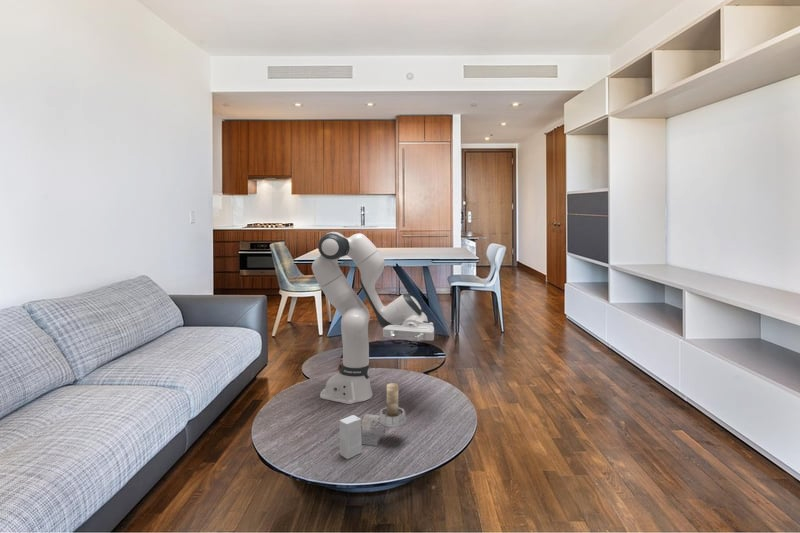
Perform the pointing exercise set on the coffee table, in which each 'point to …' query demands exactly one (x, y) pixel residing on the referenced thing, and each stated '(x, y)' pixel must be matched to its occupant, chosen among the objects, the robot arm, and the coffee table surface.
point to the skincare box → (350, 436)
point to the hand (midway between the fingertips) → (404, 338)
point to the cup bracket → (374, 434)
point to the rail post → (392, 399)
